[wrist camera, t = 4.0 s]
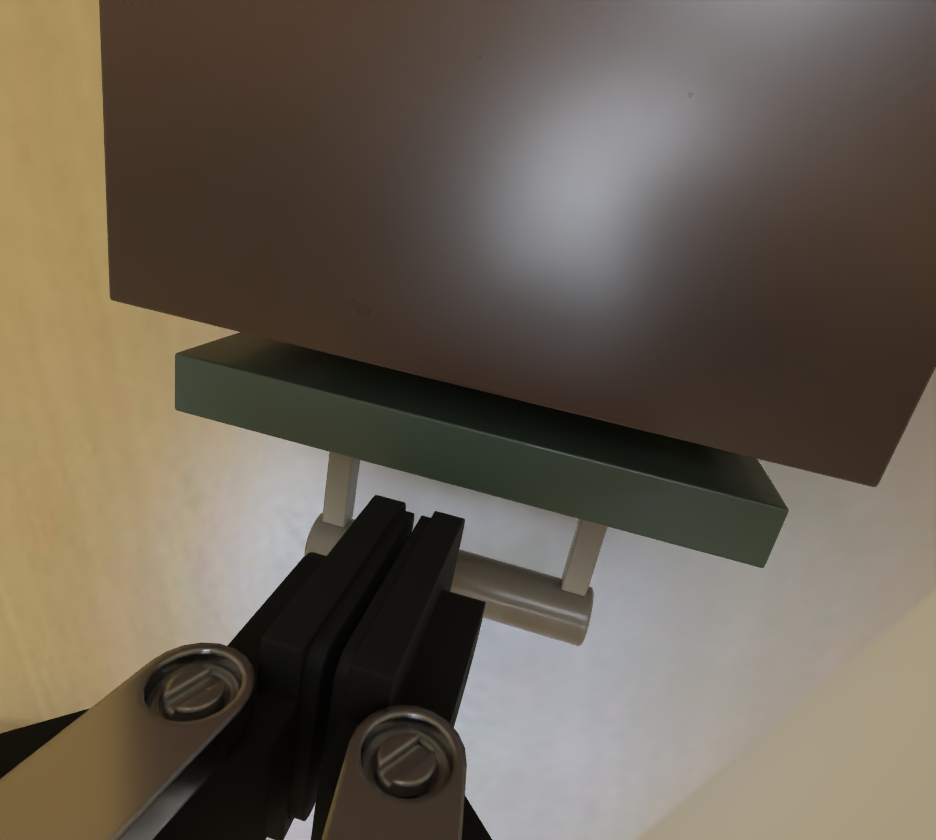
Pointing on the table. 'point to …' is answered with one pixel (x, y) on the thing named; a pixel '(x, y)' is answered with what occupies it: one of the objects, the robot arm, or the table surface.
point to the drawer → (488, 466)
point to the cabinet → (551, 201)
